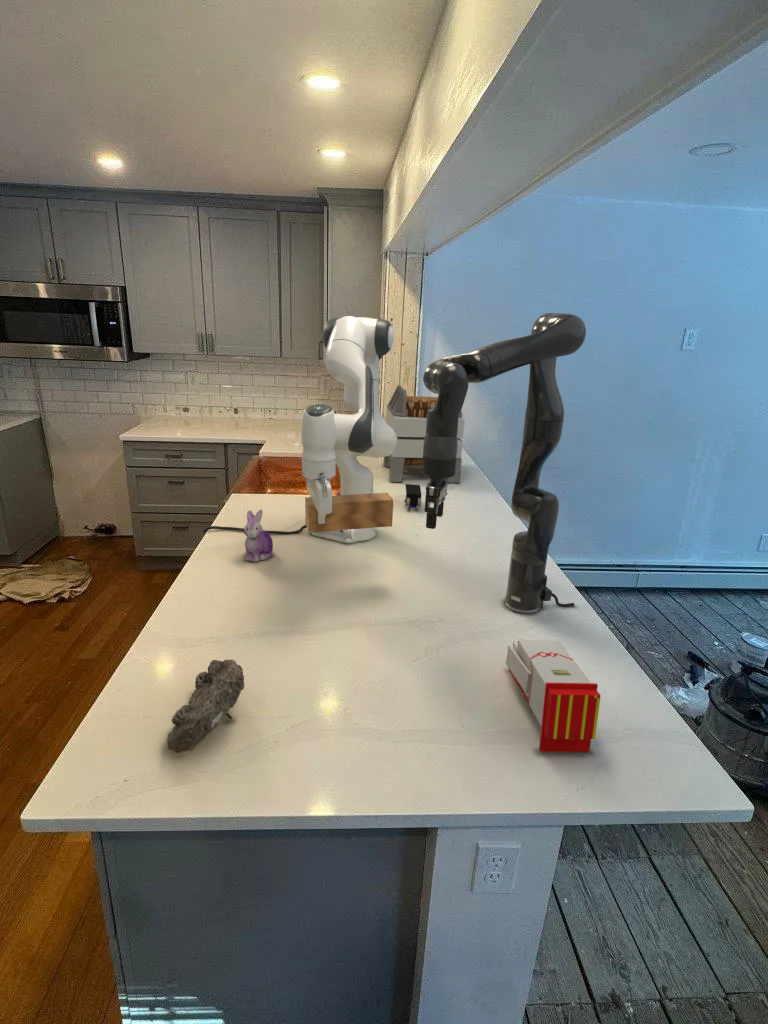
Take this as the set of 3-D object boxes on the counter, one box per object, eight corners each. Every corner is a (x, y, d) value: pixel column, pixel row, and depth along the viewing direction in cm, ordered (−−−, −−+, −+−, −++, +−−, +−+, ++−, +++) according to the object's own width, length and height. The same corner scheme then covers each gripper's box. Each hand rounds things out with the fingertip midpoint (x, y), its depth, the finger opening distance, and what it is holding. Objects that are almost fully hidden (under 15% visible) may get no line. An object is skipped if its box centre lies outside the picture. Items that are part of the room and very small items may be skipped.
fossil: (192, 660, 117) (244, 628, 112) (224, 691, 120) (276, 661, 115) (142, 746, 98) (202, 712, 93) (182, 779, 101) (242, 748, 96)
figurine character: (422, 515, 222) (419, 499, 235) (423, 498, 218) (420, 482, 232) (404, 515, 222) (403, 499, 235) (406, 497, 218) (404, 482, 232)
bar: (308, 532, 150) (308, 504, 147) (305, 524, 155) (305, 497, 153) (392, 526, 156) (393, 499, 153) (386, 518, 162) (387, 492, 159)
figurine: (248, 564, 171) (246, 518, 166) (239, 551, 179) (237, 507, 174) (278, 559, 175) (277, 514, 170) (269, 547, 183) (267, 503, 178)
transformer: (382, 463, 289) (386, 382, 275) (445, 464, 293) (451, 384, 279) (390, 482, 257) (394, 392, 243) (460, 483, 261) (468, 394, 247)
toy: (554, 622, 128) (610, 691, 98) (548, 677, 130) (601, 759, 101) (501, 621, 127) (541, 690, 98) (496, 676, 130) (534, 758, 101)
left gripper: (338, 480, 139) (337, 531, 144) (324, 457, 158) (323, 504, 162) (313, 481, 138) (313, 533, 142) (301, 458, 156) (301, 505, 161)
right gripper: (451, 463, 119) (444, 535, 124) (461, 448, 132) (455, 514, 137) (416, 459, 121) (411, 530, 126) (429, 445, 134) (425, 510, 139)
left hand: (318, 517), depth 153 cm, fingers closed on bar, 6 cm apart
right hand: (434, 521), depth 132 cm, fingers open, 8 cm apart
